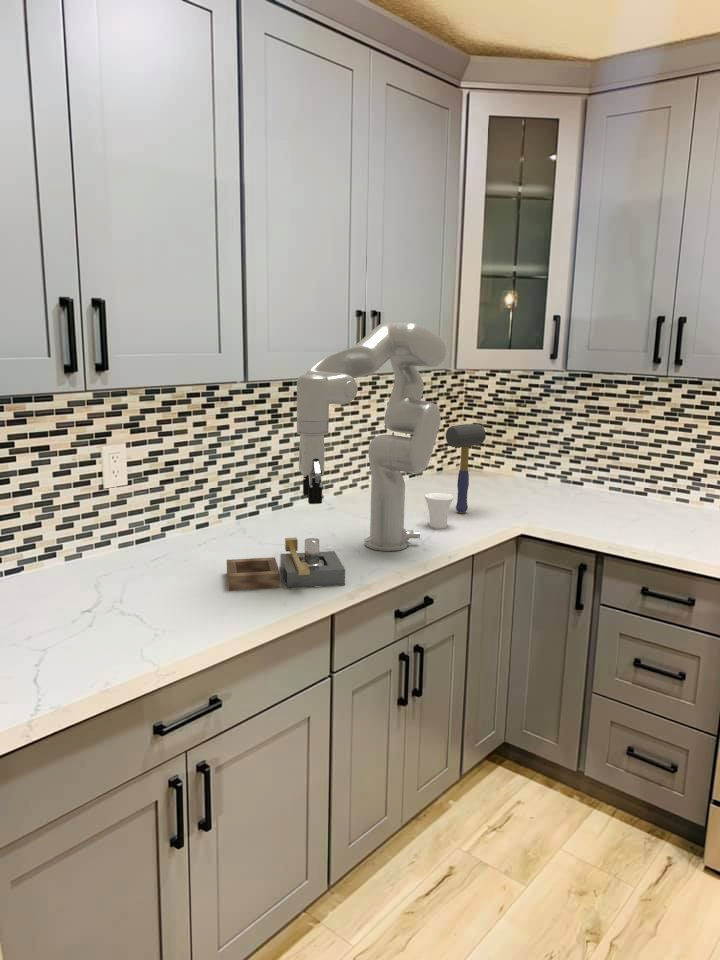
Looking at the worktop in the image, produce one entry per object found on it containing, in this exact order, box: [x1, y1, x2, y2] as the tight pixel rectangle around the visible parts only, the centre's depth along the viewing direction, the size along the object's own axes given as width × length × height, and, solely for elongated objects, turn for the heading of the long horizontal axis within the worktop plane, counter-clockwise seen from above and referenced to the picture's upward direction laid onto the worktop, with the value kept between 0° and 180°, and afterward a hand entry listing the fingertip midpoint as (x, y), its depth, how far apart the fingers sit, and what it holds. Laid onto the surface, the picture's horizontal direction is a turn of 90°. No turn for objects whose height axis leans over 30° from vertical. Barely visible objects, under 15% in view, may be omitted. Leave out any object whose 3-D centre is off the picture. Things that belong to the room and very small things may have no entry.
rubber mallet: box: [445, 423, 487, 514], centre depth 236 cm, size 12×8×30 cm, turn 123°
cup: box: [424, 492, 454, 530], centre depth 222 cm, size 9×9×10 cm
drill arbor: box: [300, 537, 324, 566], centre depth 176 cm, size 6×6×10 cm
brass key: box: [284, 537, 310, 575], centre depth 175 cm, size 3×20×3 cm, turn 13°
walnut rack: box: [226, 556, 281, 592], centre depth 174 cm, size 12×12×4 cm
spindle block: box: [279, 550, 346, 590], centre depth 177 cm, size 14×14×4 cm
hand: (312, 498), depth 173 cm, fingers open, 8 cm apart
